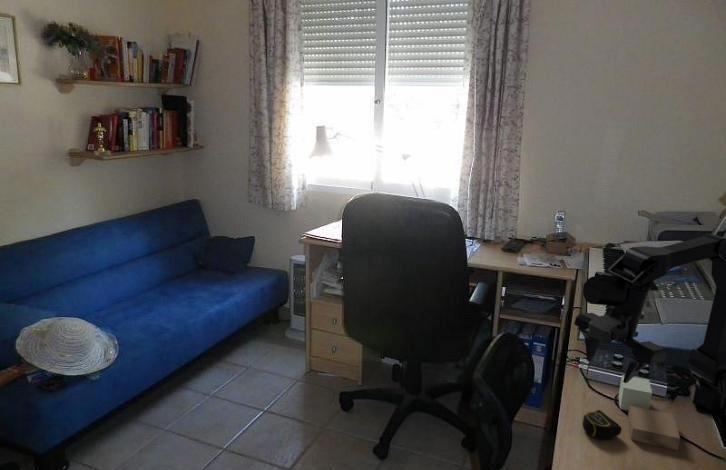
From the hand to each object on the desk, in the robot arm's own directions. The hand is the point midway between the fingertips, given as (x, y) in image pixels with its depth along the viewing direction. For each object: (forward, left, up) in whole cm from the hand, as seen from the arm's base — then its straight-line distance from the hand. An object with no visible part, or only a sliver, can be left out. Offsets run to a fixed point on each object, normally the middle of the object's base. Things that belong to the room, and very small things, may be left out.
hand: (606, 371), depth 115 cm
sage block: (-8, -13, -15) cm, 21 cm away
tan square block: (-11, -3, -14) cm, 18 cm away
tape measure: (0, +1, -15) cm, 15 cm away
